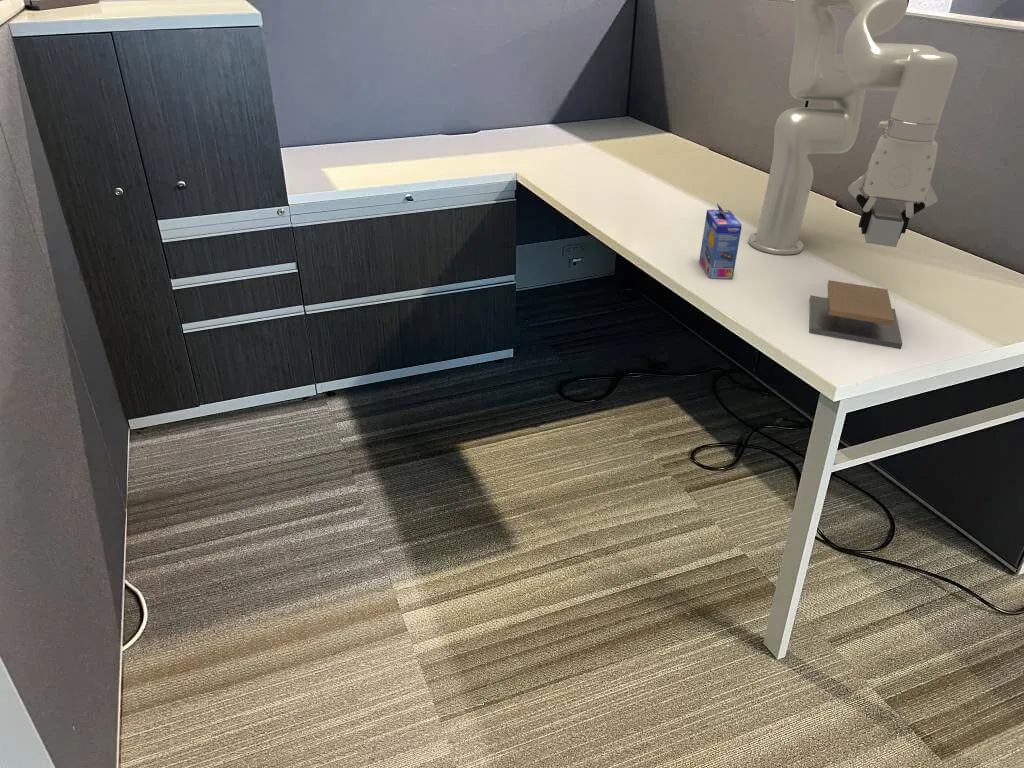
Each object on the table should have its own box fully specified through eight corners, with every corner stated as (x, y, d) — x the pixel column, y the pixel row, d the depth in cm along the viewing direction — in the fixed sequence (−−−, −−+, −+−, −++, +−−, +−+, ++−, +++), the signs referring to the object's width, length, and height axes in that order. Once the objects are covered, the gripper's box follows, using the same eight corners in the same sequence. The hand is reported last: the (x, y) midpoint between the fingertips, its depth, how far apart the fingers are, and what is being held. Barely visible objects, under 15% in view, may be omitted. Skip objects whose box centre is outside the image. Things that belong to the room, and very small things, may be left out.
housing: (865, 242, 135) (873, 215, 133) (863, 227, 143) (870, 201, 140) (896, 247, 134) (904, 219, 131) (891, 231, 141) (899, 205, 139)
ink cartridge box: (696, 261, 172) (707, 198, 164) (720, 262, 172) (733, 199, 165) (707, 278, 163) (720, 213, 156) (733, 279, 164) (746, 214, 156)
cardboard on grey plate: (809, 299, 156) (815, 277, 153) (893, 313, 152) (901, 290, 149) (809, 332, 143) (815, 308, 140) (901, 348, 139) (909, 324, 136)
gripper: (858, 129, 128) (830, 233, 137) (970, 141, 123) (933, 248, 133) (856, 121, 134) (830, 221, 143) (962, 132, 130) (928, 234, 139)
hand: (880, 233), depth 138 cm, fingers closed on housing, 5 cm apart
